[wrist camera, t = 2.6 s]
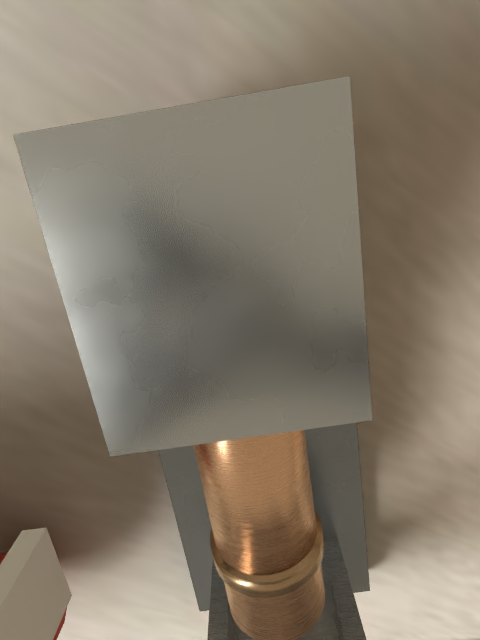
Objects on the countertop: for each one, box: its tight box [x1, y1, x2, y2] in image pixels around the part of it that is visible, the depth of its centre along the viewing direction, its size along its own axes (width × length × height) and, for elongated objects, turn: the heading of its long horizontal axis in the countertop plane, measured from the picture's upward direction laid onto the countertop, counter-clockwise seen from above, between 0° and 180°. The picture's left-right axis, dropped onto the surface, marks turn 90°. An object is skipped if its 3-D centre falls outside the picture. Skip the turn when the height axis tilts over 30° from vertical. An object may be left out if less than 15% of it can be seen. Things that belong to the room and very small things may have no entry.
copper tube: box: [193, 430, 325, 640], centre depth 15 cm, size 4×18×4 cm, turn 9°
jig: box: [13, 76, 372, 640], centre depth 17 cm, size 10×25×10 cm, turn 9°
